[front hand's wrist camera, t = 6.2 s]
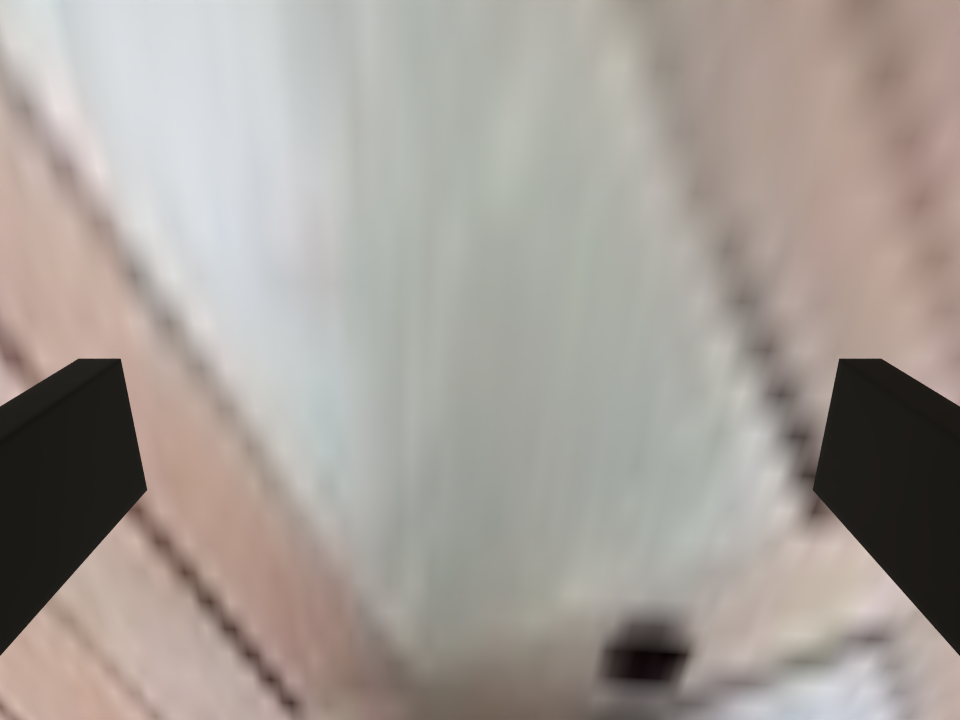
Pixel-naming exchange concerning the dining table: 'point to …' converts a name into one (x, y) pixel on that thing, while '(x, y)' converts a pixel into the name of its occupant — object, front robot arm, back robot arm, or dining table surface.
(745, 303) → the dining table surface
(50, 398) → the front robot arm
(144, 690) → the dining table surface
